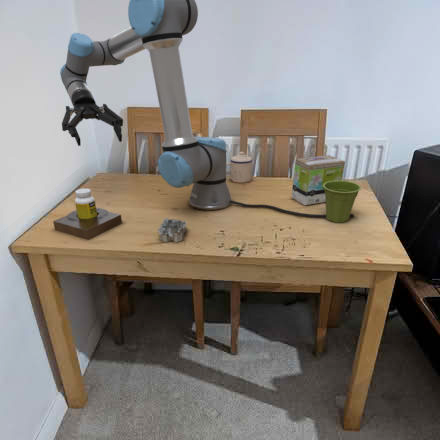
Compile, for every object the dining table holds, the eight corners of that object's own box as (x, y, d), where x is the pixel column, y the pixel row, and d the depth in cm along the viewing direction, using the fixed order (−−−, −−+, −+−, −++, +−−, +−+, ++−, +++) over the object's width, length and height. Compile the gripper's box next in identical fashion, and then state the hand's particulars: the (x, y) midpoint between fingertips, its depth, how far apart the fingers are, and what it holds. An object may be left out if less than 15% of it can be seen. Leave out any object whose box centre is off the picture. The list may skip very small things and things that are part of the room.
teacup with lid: (250, 176, 179) (251, 149, 173) (252, 183, 172) (253, 154, 165) (223, 177, 179) (223, 149, 173) (223, 183, 172) (223, 155, 165)
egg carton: (181, 243, 123) (180, 230, 120) (157, 242, 123) (155, 229, 121) (188, 228, 132) (187, 216, 129) (165, 227, 132) (164, 215, 130)
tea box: (305, 206, 148) (310, 165, 140) (290, 198, 155) (294, 158, 148) (339, 200, 153) (346, 160, 145) (323, 192, 161) (328, 153, 153)
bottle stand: (124, 222, 137) (123, 213, 135) (88, 239, 125) (86, 230, 124) (89, 213, 144) (88, 205, 142) (52, 229, 132) (50, 220, 131)
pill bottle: (95, 226, 134) (89, 193, 128) (76, 226, 134) (70, 193, 128) (100, 219, 139) (95, 187, 133) (82, 219, 139) (76, 187, 133)
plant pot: (311, 215, 140) (315, 183, 134) (340, 210, 144) (345, 178, 138) (333, 228, 131) (338, 193, 125) (362, 222, 135) (369, 188, 129)
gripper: (116, 106, 151) (136, 145, 142) (45, 110, 140) (61, 153, 132) (117, 87, 145) (137, 127, 136) (42, 90, 134) (60, 134, 126)
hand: (100, 140), depth 134 cm, fingers open, 13 cm apart
